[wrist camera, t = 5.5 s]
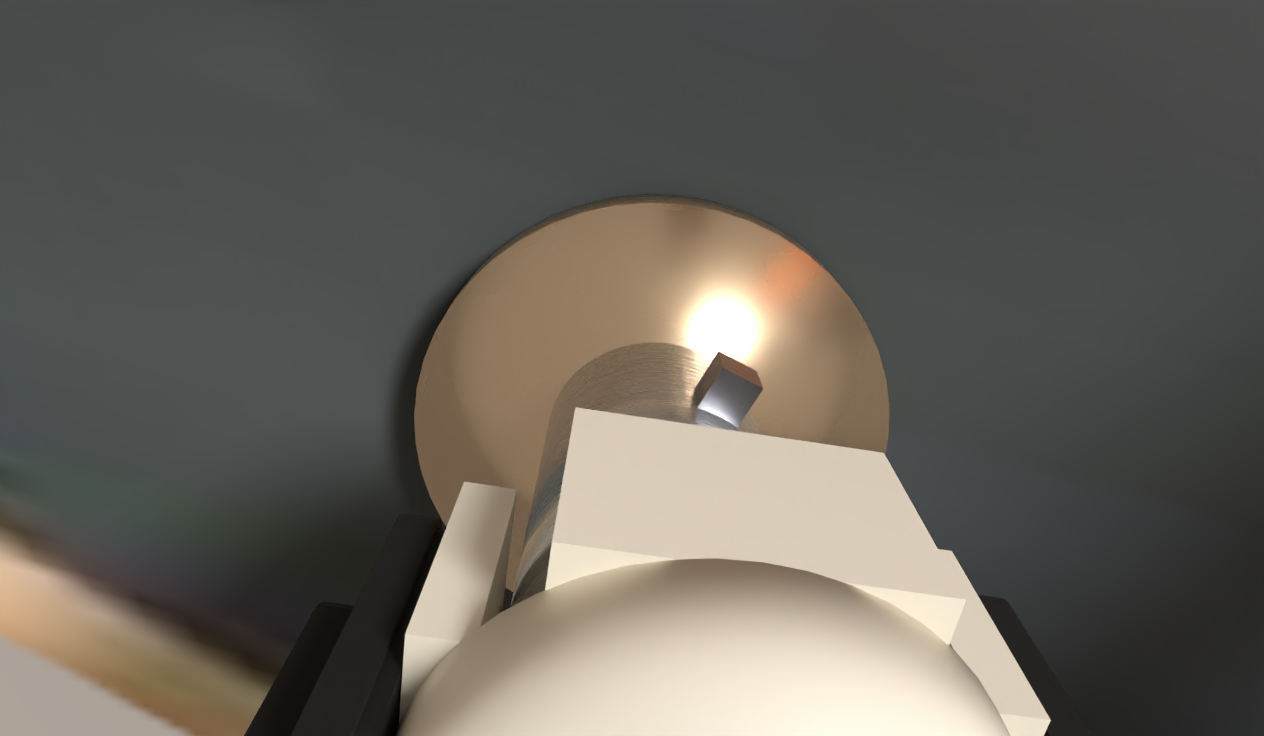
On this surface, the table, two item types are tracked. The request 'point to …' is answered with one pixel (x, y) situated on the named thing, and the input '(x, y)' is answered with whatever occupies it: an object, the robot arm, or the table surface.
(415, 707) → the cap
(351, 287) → the table surface
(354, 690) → the robot arm
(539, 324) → the beige piece
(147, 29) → the table surface
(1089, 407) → the table surface
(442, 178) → the table surface
